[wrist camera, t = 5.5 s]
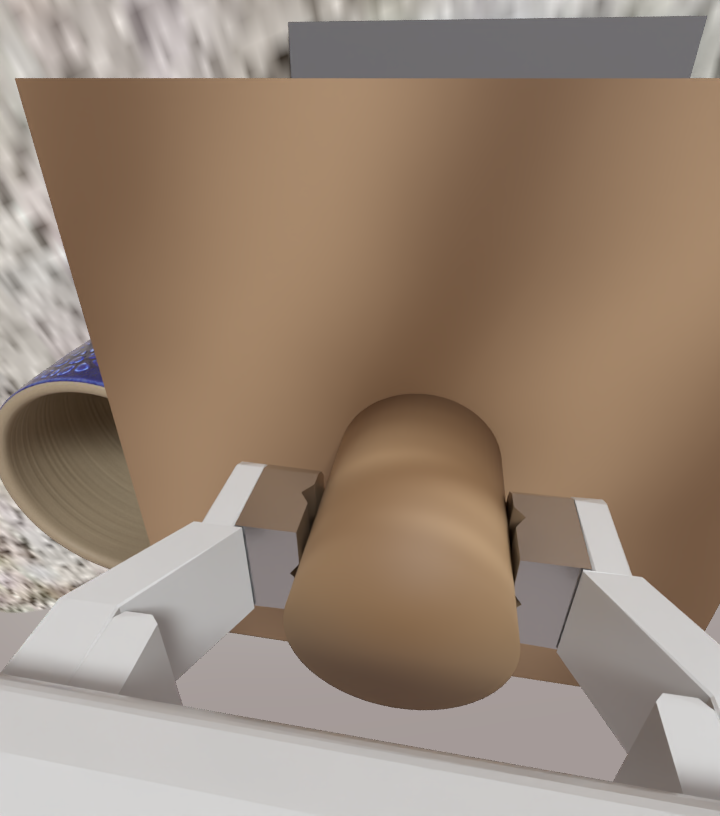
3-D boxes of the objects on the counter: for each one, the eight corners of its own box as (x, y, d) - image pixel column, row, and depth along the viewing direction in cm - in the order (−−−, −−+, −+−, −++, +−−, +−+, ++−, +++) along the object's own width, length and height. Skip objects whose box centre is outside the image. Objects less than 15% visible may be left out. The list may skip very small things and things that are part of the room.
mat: (703, 17, 20) (707, 15, 19) (600, 388, 28) (601, 391, 28) (290, 23, 22) (288, 22, 22) (309, 364, 30) (307, 367, 30)
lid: (942, 78, 7) (1659, 70, 3) (654, 662, 14) (737, 915, 10) (57, 78, 9) (-311, 74, 5) (189, 594, 16) (88, 782, 11)
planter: (94, 352, 33) (-54, 461, 23) (204, 242, 28) (71, 325, 18) (221, 470, 36) (135, 607, 27) (339, 391, 31) (284, 524, 22)
